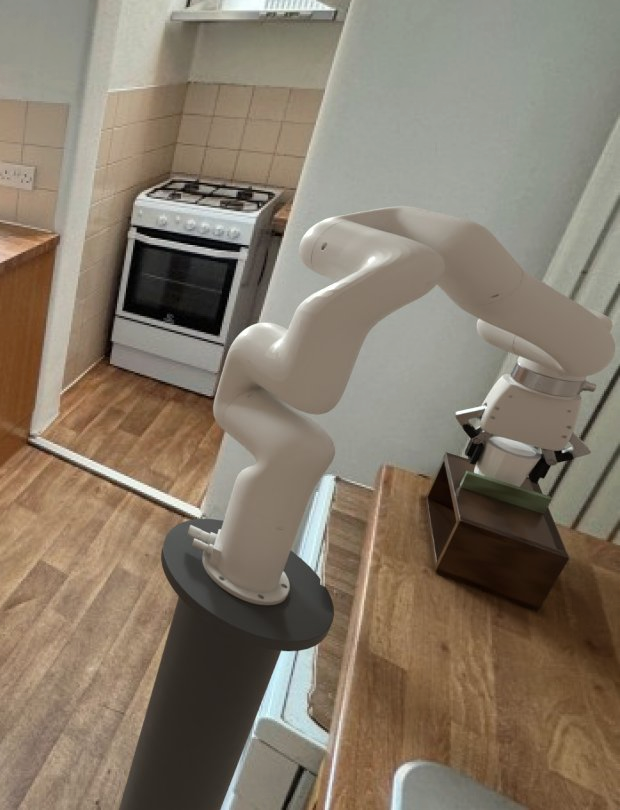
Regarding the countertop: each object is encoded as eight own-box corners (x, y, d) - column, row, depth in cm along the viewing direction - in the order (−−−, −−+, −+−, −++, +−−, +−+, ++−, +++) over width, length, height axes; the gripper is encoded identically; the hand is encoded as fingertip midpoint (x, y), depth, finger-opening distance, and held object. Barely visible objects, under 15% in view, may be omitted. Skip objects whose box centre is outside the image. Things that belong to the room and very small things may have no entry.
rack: (435, 572, 99) (467, 505, 94) (424, 498, 115) (451, 438, 110) (538, 612, 92) (578, 542, 87) (511, 528, 108) (544, 465, 103)
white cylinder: (473, 481, 103) (489, 448, 100) (465, 460, 108) (480, 428, 105) (529, 498, 99) (547, 464, 96) (518, 476, 104) (535, 442, 102)
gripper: (618, 388, 94) (568, 479, 100) (469, 354, 104) (432, 439, 110) (634, 409, 88) (580, 504, 95) (475, 371, 98) (435, 459, 105)
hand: (501, 468), depth 103 cm, fingers closed on white cylinder, 6 cm apart
